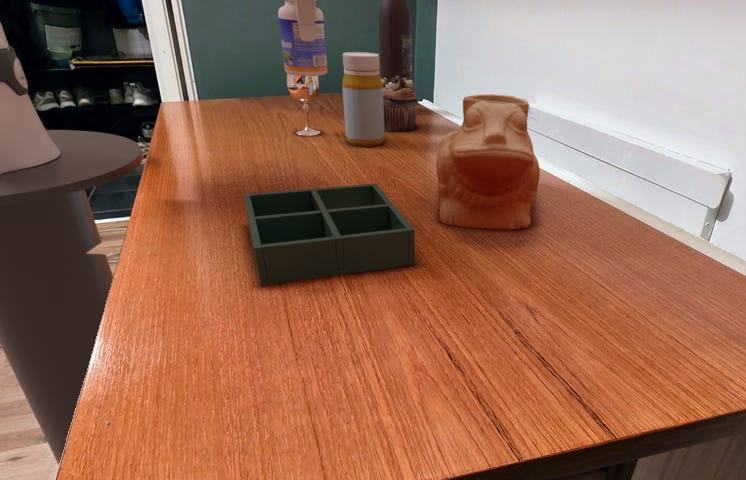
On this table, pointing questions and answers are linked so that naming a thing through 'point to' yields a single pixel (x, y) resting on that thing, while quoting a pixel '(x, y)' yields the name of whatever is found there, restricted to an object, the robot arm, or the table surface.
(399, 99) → the cupcake
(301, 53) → the pill bottle
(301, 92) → the wineglass
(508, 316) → the table surface
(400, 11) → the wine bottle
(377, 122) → the bottle
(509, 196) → the ceramic vessel
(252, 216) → the organiser
